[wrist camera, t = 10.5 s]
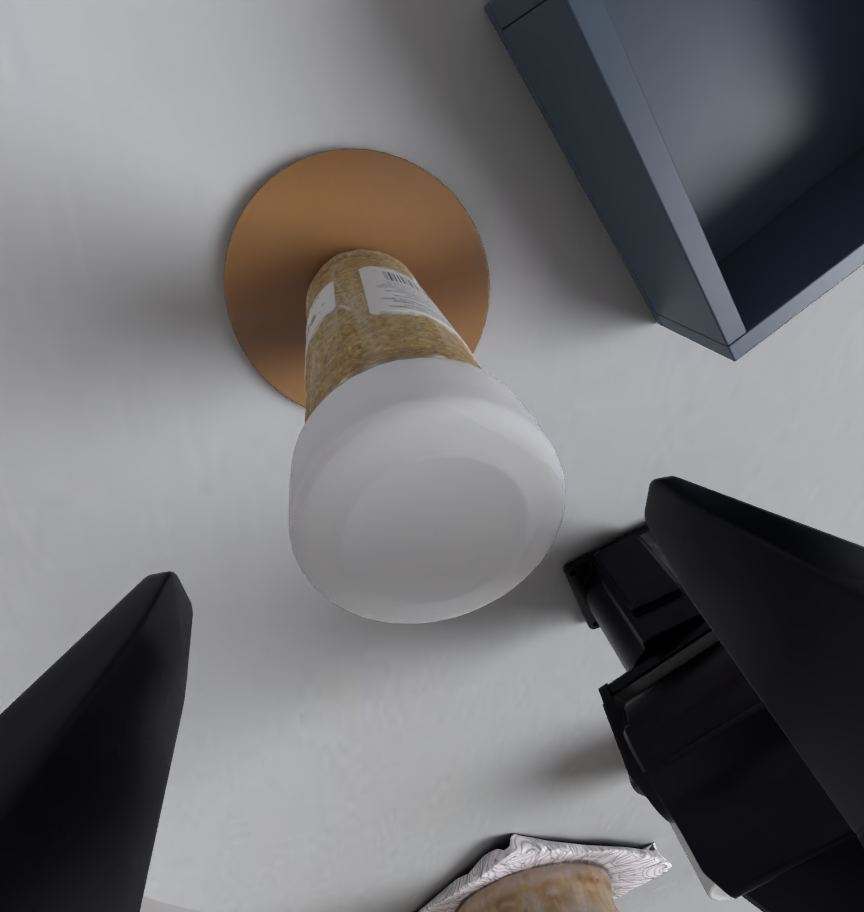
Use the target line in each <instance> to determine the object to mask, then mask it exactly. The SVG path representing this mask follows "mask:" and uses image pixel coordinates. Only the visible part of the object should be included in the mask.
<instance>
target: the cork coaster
mask: <svg viewBox="0 0 864 912" xmlns="http://www.w3.org/2000/svg"><path fill="white" fill-rule="evenodd" d="M357 249H365V250H374V251H381V252H383V253H386V254H388V255H390V256H392V257H394V258H396V259H398V260H399V261H400V262H402V263H403V264H404V265H405V266H406V267H407V268H408V270H409V271H410V272H411V273H412V274H413V275H414V277H415V279H416V280H417V282H418V284H419V286H420V287H421V288H422V289H423V290H424V291H425V292H426V294H427V295H428V296H429V297H430V299H431V300H432V301H433V303H434V304H435V305H436V306H437V308H438V309H439V310H440V312H441V313H442V314H443V315H444V317H445V318H446V319H447V320H448V322H449V323H450V324H451V326H452V327H453V328H454V329H455V331H456V332H457V333H458V334H459V336H460V337H461V338H462V339H463V341H464V342H465V343H466V344H467V346H468V348H469V349H470V351H471V353H472V354H473V353H474V350H475V348H476V346H477V344H478V342H479V340H480V337H481V334H482V331H483V328H484V325H485V322H486V317H487V312H488V306H489V293H490V286H489V271H488V265H487V259H486V255H485V251H484V248H483V245H482V241H481V239H480V236H479V234H478V232H477V230H476V227H475V225H474V223H473V221H472V220H471V218H470V216H469V215H468V213H467V211H466V210H465V208H464V207H463V205H462V204H461V203H460V202H459V201H458V199H457V198H456V197H455V196H454V194H453V193H452V192H451V191H450V190H449V189H448V188H447V187H446V186H444V185H443V184H442V183H441V182H440V181H439V180H438V179H437V178H435V177H434V176H432V175H431V174H430V173H428V172H427V171H425V170H424V169H423V168H421V167H419V166H417V165H415V164H413V163H411V162H409V161H407V160H405V159H403V158H400V157H397V156H394V155H391V154H388V153H384V152H378V151H373V150H367V149H340V150H332V151H326V152H322V153H319V154H315V155H312V156H308V157H306V158H304V159H302V160H299V161H297V162H295V163H293V164H291V165H289V166H287V167H286V168H284V169H283V170H282V171H280V172H279V173H277V174H276V175H274V176H273V177H272V178H271V179H269V180H268V181H267V182H266V183H265V184H264V185H263V186H262V187H261V188H260V189H259V190H258V191H257V192H256V193H255V195H254V196H253V197H252V199H251V200H250V201H249V202H248V204H247V205H246V207H245V208H244V210H243V212H242V214H241V215H240V217H239V219H238V221H237V222H236V225H235V228H234V230H233V233H232V236H231V238H230V241H229V245H228V250H227V254H226V259H225V269H224V291H225V301H226V306H227V311H228V316H229V319H230V322H231V325H232V328H233V331H234V333H235V336H236V338H237V340H238V342H239V344H240V346H241V348H242V350H243V351H244V353H245V354H246V356H247V357H248V359H249V360H250V362H251V364H252V365H253V366H254V367H255V368H256V370H257V371H258V372H259V373H260V374H261V375H262V377H263V378H264V379H266V380H267V381H268V382H269V383H270V384H271V385H272V386H273V387H274V388H275V389H277V390H278V391H279V392H281V393H282V394H283V395H285V396H286V397H288V398H289V399H291V400H293V401H294V402H296V403H298V404H300V405H302V406H304V407H306V395H305V350H306V326H307V319H306V308H305V306H306V297H307V292H308V288H309V286H310V284H311V282H312V281H313V279H314V277H315V276H316V274H317V273H318V271H319V270H320V268H321V267H322V266H323V265H324V264H325V263H327V262H328V261H329V260H330V259H332V258H333V257H334V256H336V255H338V254H340V253H344V252H348V251H353V250H357Z"/></svg>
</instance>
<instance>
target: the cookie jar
mask: <svg viewBox="0 0 864 912" xmlns="http://www.w3.org/2000/svg"><path fill="white" fill-rule="evenodd" d="M671 867H672V865H671V864H670V862H669V861H667V860H666V859H665V858H664V857H663V856H662V855H661V854H660V853H659V852H658V850H657V848H656V844H655V842H654V843H653V844H652V846H651V847H650V849H649V850H643V849H635V848H628V847H614V846H594V845H580V844H571V843H563V842H554V841H546V840H541V839H537V838H532V837H525V836H520V835H516V834H514V835H512V836H511V838H510V846H509V847H508V848H507V849H506V850H501V849H496V850H493V851H491V852H489V853H487V854H486V855H484V856H483V857H482V858H481V859H480V861H479V862H478V863H477V864H476V865H475V866H474V868H473V869H472V870H471V871H470V872H469V873H468V874H466V875H464V876H462V877H460V878H457V879H456V880H455V881H454V882H452V883H451V884H450V885H449V886H448V887H446V888H445V889H444V890H443V891H442V892H440V893H439V894H438V895H437V896H436V897H435V898H433V899H432V900H431V901H430V902H429V903H428V904H426V905H425V906H424V907H423V908H422V909H420V910H419V911H418V912H619V911H618V909H617V908H616V906H615V904H614V901H613V900H614V899H616V898H618V897H621V896H622V895H624V894H626V893H627V892H628V891H630V890H632V889H634V888H636V887H638V886H640V885H642V884H645V883H646V882H648V881H649V880H651V879H654V878H655V877H657V876H659V875H661V874H664V873H665V872H667V871H668V870H669V869H670V868H671Z"/></svg>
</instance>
